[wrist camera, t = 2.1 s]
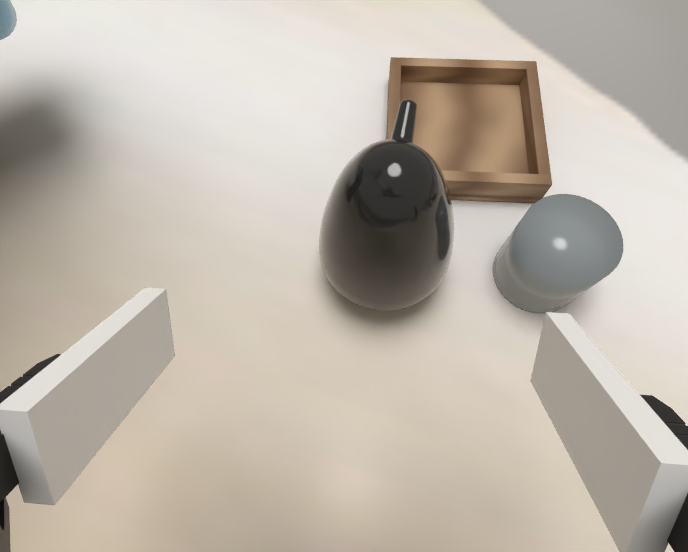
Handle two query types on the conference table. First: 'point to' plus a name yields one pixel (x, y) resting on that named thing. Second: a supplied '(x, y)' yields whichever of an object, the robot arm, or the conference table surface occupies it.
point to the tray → (477, 124)
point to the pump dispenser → (388, 223)
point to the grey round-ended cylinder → (557, 253)
